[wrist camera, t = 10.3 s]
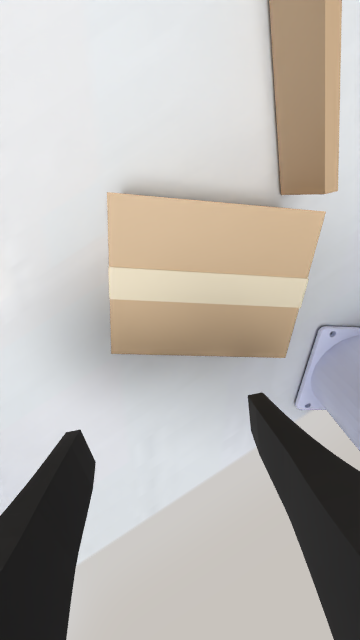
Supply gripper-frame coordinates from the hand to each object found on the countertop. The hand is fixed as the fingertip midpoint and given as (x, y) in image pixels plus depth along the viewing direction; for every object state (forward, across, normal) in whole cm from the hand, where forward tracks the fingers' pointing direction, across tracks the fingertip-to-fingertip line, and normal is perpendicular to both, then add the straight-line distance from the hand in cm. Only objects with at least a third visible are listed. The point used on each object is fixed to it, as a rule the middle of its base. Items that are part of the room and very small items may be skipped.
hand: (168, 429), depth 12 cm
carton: (+9, -3, -4) cm, 11 cm away
